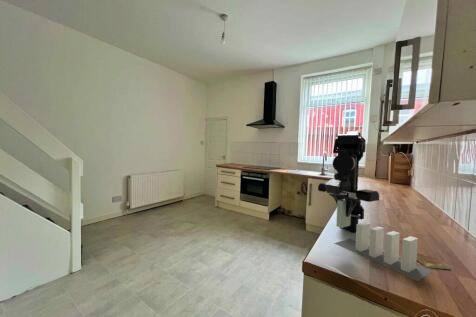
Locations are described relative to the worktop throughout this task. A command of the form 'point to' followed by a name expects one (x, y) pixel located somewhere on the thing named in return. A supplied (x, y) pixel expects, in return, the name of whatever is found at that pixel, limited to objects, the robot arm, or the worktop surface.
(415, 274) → the mat
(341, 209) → the sage domino
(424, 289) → the worktop surface
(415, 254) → the ivory domino
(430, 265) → the shard
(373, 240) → the ivory domino
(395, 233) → the ivory domino
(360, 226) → the ivory domino
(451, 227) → the worktop surface
